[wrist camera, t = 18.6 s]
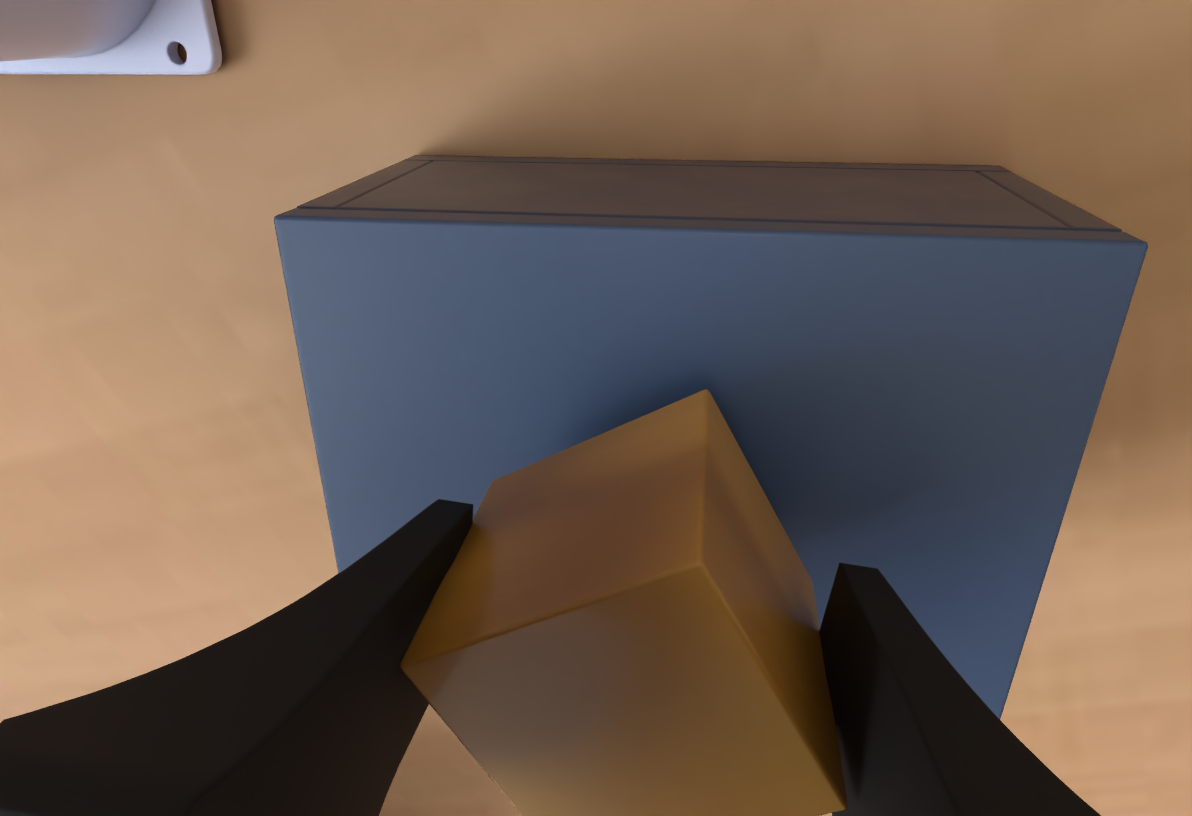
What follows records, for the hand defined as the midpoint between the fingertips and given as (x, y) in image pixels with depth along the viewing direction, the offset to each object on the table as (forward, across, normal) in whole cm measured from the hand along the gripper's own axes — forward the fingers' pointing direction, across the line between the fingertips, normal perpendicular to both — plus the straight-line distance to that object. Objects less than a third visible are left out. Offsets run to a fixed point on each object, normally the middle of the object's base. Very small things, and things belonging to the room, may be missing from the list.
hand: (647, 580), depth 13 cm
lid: (+3, 0, 0) cm, 3 cm away
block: (+1, 0, 0) cm, 1 cm away
